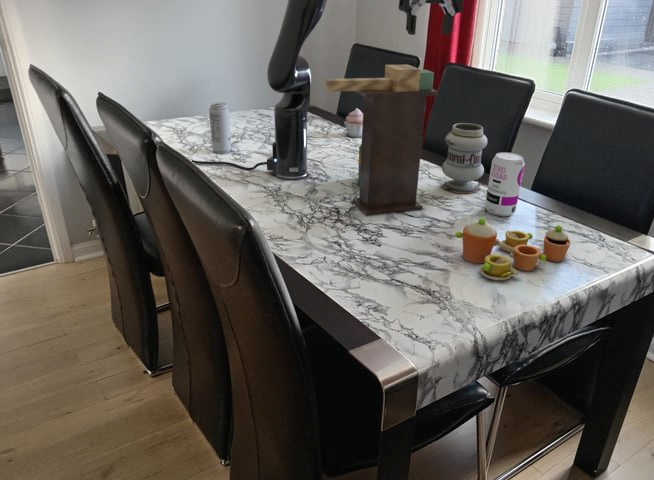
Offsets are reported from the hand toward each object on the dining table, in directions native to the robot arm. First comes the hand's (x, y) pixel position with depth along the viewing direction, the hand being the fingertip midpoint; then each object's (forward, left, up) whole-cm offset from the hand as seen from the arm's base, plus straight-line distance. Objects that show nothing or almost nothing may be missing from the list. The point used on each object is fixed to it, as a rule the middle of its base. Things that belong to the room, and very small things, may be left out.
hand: (428, 34), depth 125 cm
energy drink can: (-71, +31, -44) cm, 89 cm away
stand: (-8, +7, -43) cm, 45 cm away
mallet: (-13, +3, -13) cm, 19 cm away
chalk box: (-16, +23, -44) cm, 52 cm away
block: (-3, +12, -13) cm, 18 cm away
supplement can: (+21, +16, -44) cm, 51 cm away
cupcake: (-38, +71, -44) cm, 92 cm away
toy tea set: (+26, -13, -44) cm, 53 cm away
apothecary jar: (+8, +30, -44) cm, 53 cm away
